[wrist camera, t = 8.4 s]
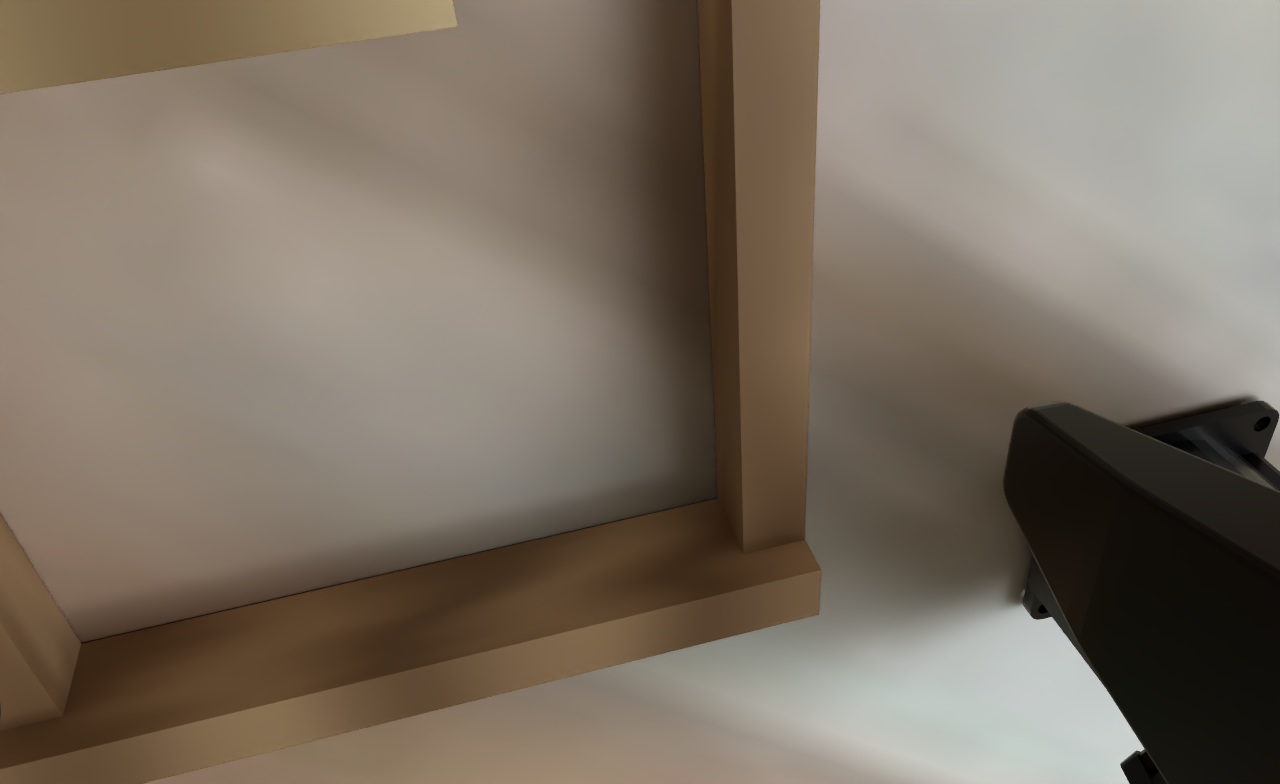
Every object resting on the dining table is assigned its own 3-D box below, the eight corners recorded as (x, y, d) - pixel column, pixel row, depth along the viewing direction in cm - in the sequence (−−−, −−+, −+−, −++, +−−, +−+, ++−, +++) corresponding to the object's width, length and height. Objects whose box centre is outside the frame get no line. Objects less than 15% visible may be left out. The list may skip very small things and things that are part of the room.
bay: (783, -1197, 11) (907, -1429, 9) (774, 528, 26) (819, 614, 24) (-1310, -1256, 8) (-1962, -1618, 6) (39, 701, 24) (7, 817, 21)
